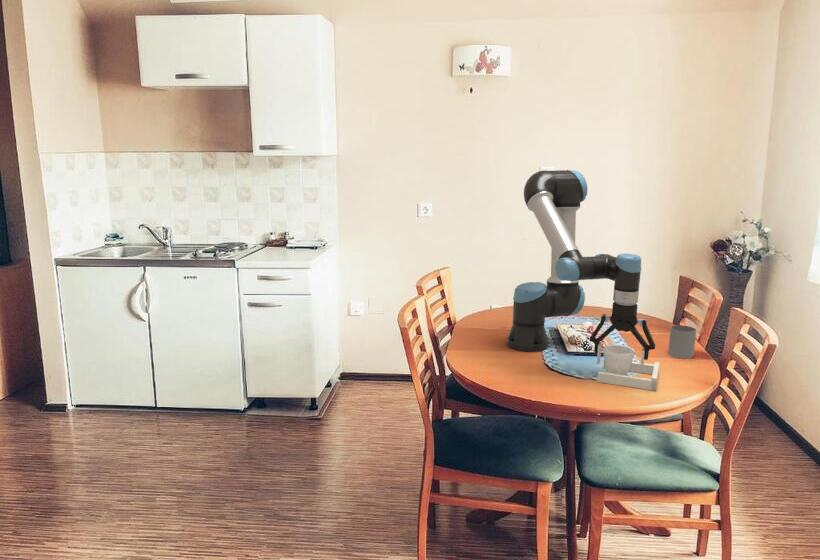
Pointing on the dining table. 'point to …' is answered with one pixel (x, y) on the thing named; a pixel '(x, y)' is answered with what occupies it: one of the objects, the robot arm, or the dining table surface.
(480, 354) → the dining table surface
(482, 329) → the dining table surface
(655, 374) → the bracket
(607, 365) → the cup
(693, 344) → the cup
